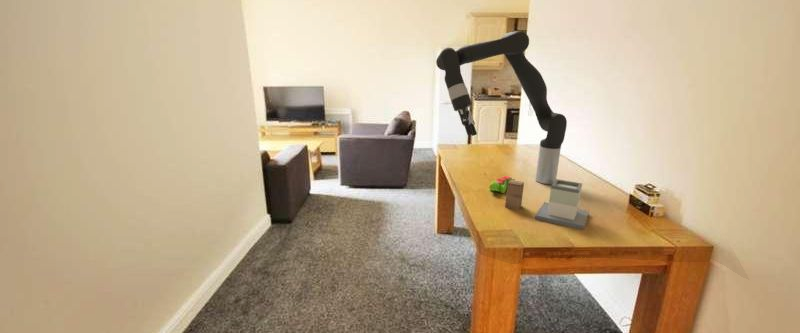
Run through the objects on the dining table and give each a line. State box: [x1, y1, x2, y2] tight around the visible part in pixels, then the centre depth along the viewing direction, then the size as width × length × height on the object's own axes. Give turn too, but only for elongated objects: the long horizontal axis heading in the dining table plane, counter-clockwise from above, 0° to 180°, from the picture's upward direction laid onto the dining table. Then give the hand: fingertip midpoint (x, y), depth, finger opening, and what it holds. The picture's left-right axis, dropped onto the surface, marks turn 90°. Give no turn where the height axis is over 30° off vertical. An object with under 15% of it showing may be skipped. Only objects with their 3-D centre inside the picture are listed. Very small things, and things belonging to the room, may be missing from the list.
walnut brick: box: [504, 180, 525, 211], centre depth 141 cm, size 5×5×10 cm
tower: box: [534, 178, 590, 231], centre depth 131 cm, size 16×16×13 cm
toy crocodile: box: [489, 175, 515, 194], centre depth 161 cm, size 20×7×6 cm, turn 138°
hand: (472, 135), depth 144 cm, fingers open, 8 cm apart
